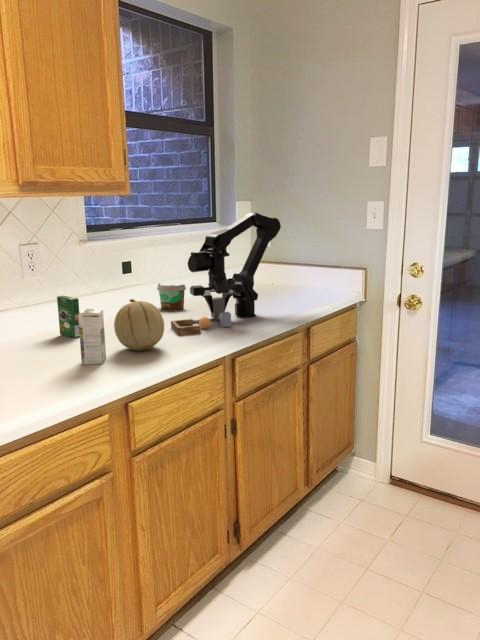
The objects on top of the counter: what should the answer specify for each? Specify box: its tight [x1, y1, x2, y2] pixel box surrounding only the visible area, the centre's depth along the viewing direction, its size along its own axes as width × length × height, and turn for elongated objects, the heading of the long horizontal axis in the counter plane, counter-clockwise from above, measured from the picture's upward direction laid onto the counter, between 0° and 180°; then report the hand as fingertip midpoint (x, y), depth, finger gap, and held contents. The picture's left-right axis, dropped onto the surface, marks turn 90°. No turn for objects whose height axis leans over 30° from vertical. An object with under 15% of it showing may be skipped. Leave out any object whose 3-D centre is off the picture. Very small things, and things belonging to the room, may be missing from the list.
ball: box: [198, 316, 212, 330], centre depth 182 cm, size 4×4×4 cm
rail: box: [193, 317, 220, 325], centre depth 191 cm, size 15×1×1 cm, turn 109°
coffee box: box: [56, 295, 80, 339], centre depth 174 cm, size 8×3×13 cm, turn 54°
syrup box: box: [78, 307, 107, 366], centre depth 146 cm, size 6×6×14 cm
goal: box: [170, 318, 202, 336], centre depth 180 cm, size 8×11×2 cm
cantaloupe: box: [113, 298, 165, 352], centre depth 157 cm, size 15×15×15 cm
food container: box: [156, 282, 187, 312], centre depth 213 cm, size 12×6×10 cm, turn 68°
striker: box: [210, 296, 232, 328], centre depth 188 cm, size 4×12×8 cm, turn 19°
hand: (217, 312), depth 192 cm, fingers closed on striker, 4 cm apart
